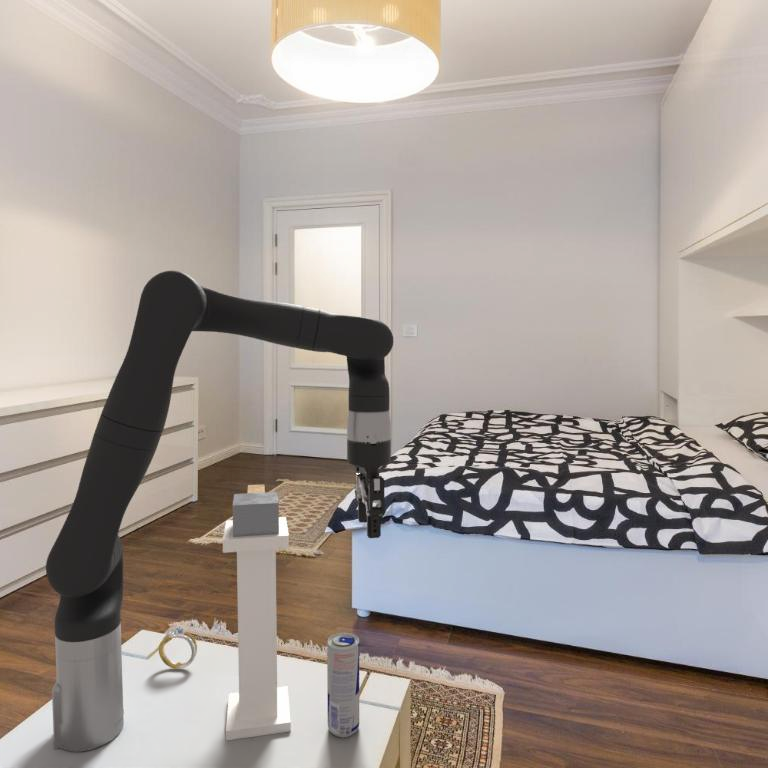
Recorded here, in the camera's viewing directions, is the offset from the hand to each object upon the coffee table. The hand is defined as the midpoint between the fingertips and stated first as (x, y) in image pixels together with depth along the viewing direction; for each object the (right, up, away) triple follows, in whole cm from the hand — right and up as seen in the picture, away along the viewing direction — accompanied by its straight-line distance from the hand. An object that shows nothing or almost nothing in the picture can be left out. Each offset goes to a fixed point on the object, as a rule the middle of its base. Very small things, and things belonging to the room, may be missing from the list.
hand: (368, 529), depth 99 cm
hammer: (-19, +2, -1) cm, 20 cm away
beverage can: (-4, -31, -7) cm, 32 cm away
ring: (-37, -30, +10) cm, 48 cm away
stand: (-18, -30, -4) cm, 35 cm away
